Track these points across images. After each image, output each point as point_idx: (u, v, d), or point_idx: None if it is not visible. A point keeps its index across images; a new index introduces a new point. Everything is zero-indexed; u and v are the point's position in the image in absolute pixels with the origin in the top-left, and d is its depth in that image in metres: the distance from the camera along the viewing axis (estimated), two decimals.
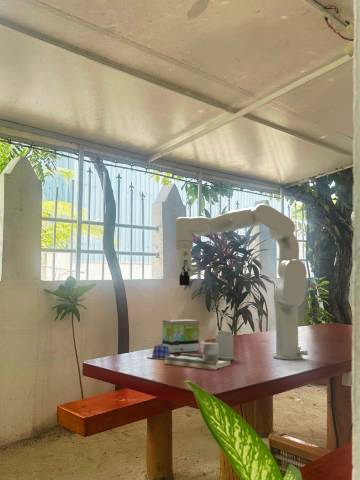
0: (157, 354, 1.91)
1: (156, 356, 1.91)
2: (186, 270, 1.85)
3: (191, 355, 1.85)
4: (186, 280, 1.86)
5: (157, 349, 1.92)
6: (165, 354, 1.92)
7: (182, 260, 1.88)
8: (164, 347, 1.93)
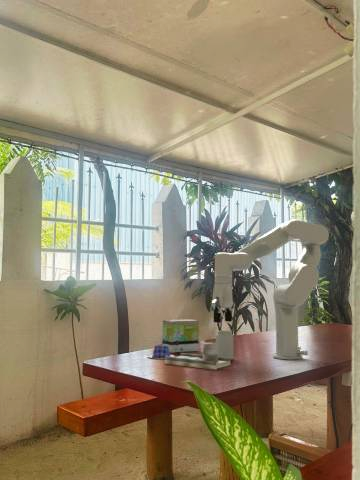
0: (157, 354, 1.91)
1: (156, 356, 1.91)
2: None
3: (191, 355, 1.85)
4: None
5: (157, 349, 1.92)
6: (165, 354, 1.92)
7: None
8: (164, 347, 1.93)
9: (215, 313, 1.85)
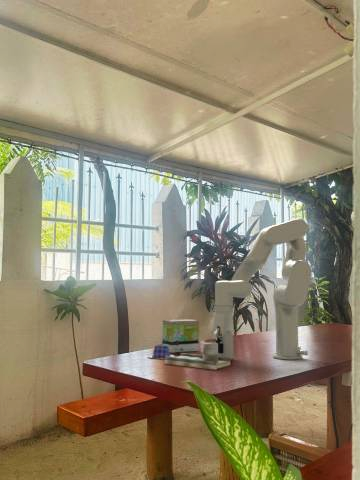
0: (157, 354, 1.92)
1: (156, 356, 1.91)
2: None
3: (191, 355, 1.85)
4: None
5: (157, 349, 1.92)
6: (165, 354, 1.92)
7: None
8: (164, 347, 1.93)
9: None
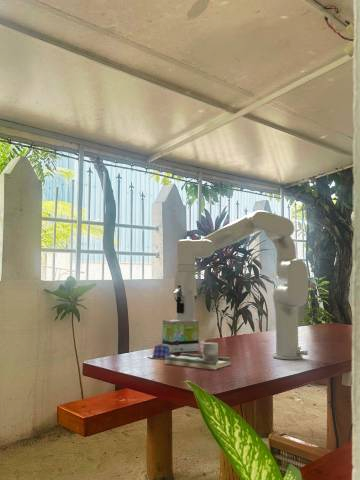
0: (157, 354, 1.92)
1: (156, 356, 1.92)
2: None
3: (191, 355, 1.85)
4: None
5: (157, 349, 1.92)
6: (165, 354, 1.92)
7: None
8: (164, 347, 1.93)
9: (178, 303, 1.79)
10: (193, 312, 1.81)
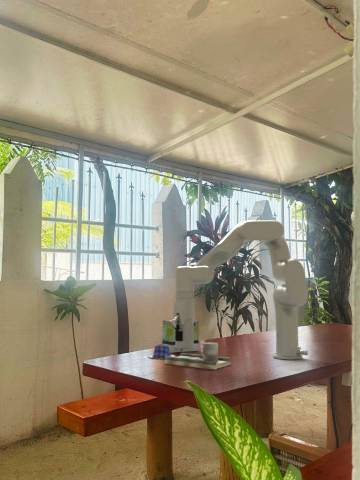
0: (157, 354, 1.92)
1: (156, 356, 1.92)
2: None
3: (191, 355, 1.85)
4: None
5: (157, 349, 1.93)
6: (165, 354, 1.92)
7: None
8: (164, 347, 1.93)
9: (176, 331, 1.78)
10: (192, 340, 1.79)
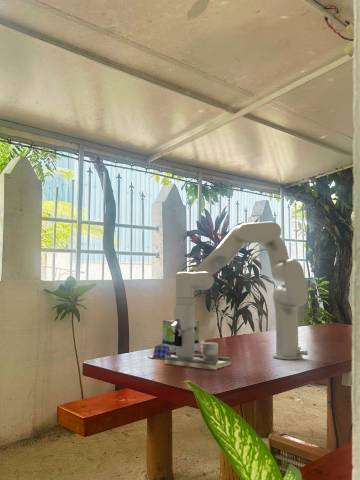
0: (157, 354, 1.92)
1: (156, 356, 1.92)
2: None
3: None
4: None
5: (157, 349, 1.93)
6: (165, 354, 1.92)
7: None
8: (164, 347, 1.93)
9: (176, 336, 1.77)
10: (192, 350, 1.79)
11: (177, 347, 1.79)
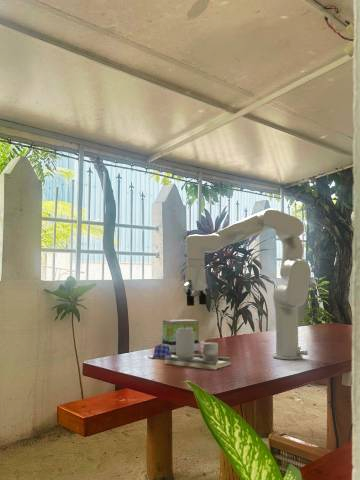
0: (157, 354, 1.92)
1: (156, 356, 1.92)
2: None
3: None
4: None
5: (157, 349, 1.93)
6: (165, 354, 1.92)
7: None
8: (164, 347, 1.93)
9: (188, 296, 1.82)
10: (192, 350, 1.79)
11: (177, 347, 1.79)
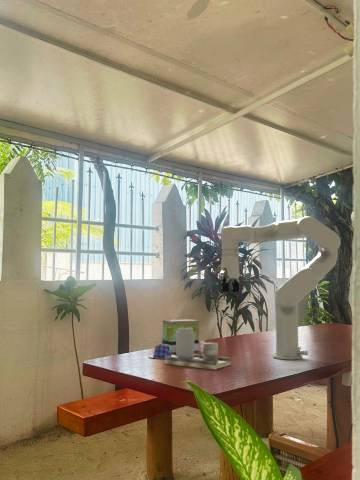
0: (157, 354, 1.92)
1: (156, 356, 1.92)
2: None
3: None
4: None
5: (157, 349, 1.93)
6: (165, 354, 1.92)
7: None
8: (164, 347, 1.93)
9: (223, 283, 1.96)
10: (192, 350, 1.79)
11: (177, 347, 1.79)
